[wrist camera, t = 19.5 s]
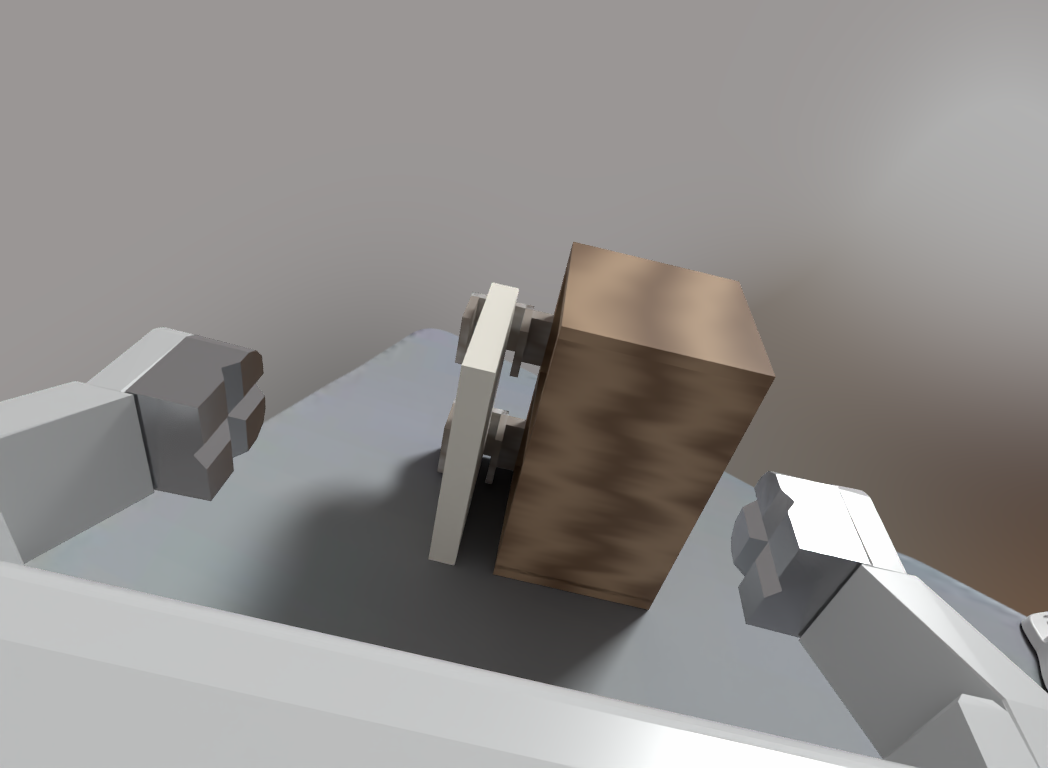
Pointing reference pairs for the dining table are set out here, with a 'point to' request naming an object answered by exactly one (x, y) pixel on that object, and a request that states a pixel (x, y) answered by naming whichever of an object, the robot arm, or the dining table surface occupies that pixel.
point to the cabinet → (619, 421)
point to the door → (472, 420)
